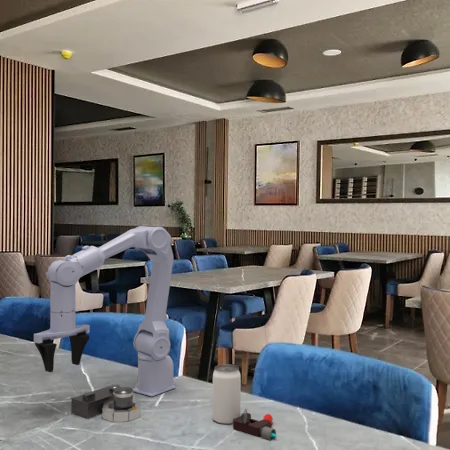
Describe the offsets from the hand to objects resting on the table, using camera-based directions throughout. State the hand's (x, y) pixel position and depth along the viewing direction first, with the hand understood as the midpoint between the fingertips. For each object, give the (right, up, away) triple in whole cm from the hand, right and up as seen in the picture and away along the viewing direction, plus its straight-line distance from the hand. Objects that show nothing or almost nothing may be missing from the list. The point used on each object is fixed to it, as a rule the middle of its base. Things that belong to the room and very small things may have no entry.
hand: (62, 367), depth 129 cm
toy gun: (+47, -12, -9) cm, 49 cm away
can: (+39, -11, -4) cm, 41 cm away
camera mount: (+12, -11, 0) cm, 16 cm away
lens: (+15, -11, -2) cm, 18 cm away
